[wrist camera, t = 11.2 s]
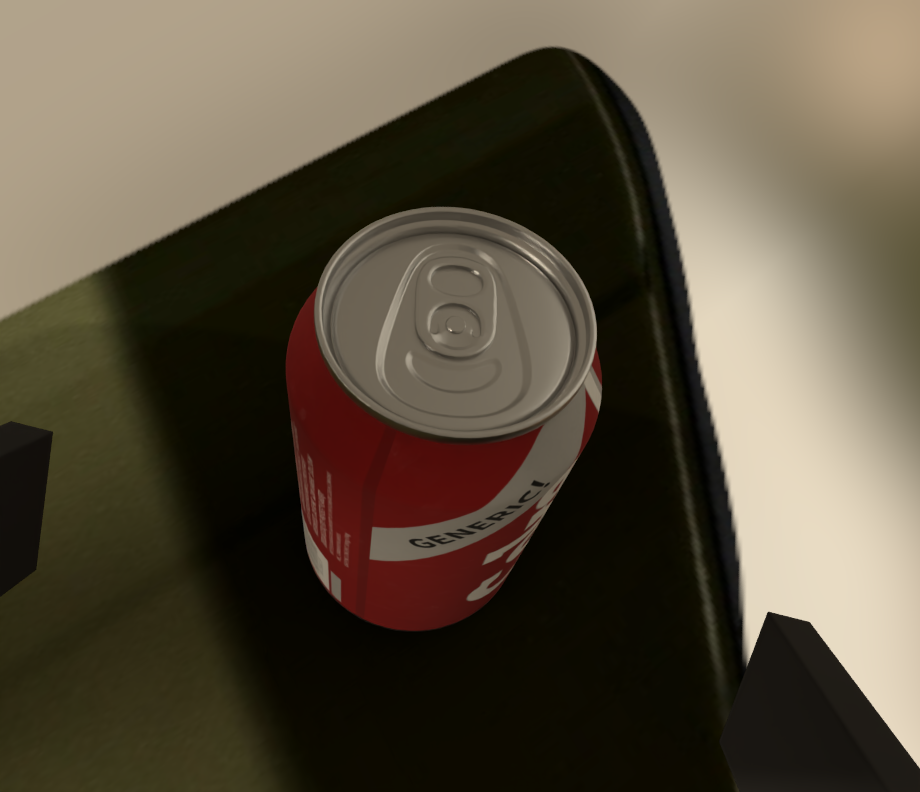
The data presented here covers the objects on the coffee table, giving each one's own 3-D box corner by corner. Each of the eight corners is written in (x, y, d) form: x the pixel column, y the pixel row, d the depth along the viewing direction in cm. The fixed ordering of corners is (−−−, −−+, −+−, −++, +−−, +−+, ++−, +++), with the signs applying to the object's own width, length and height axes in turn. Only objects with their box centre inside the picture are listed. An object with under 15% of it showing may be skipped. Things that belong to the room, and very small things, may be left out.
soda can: (292, 631, 23) (252, 454, 13) (318, 432, 26) (303, 167, 16) (514, 644, 24) (645, 485, 13) (511, 447, 27) (614, 203, 17)
